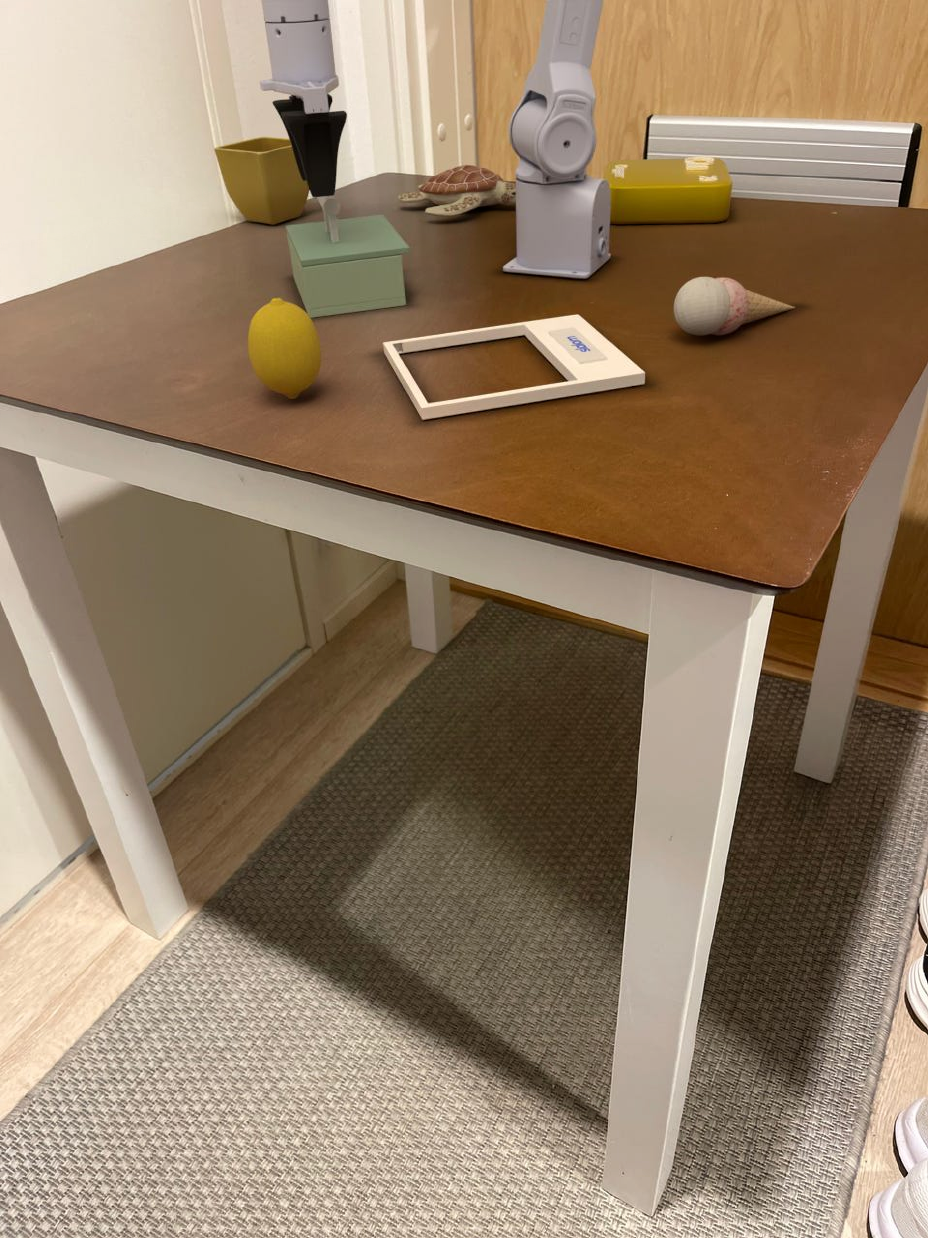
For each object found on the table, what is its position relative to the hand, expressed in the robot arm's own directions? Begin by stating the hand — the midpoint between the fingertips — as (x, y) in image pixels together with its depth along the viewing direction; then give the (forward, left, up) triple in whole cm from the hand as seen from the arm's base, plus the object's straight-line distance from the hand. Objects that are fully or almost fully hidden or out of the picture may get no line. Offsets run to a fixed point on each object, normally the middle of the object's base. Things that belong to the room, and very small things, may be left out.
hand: (317, 187), depth 90 cm
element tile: (-23, -41, -10) cm, 48 cm away
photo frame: (-25, +13, -10) cm, 30 cm away
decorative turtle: (+2, -36, -10) cm, 38 cm away
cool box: (-1, -1, -10) cm, 10 cm away
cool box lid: (-2, -1, -5) cm, 6 cm away
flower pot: (+24, -24, -10) cm, 35 cm away
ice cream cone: (-41, -2, -10) cm, 43 cm away
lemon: (-11, +24, -10) cm, 28 cm away
